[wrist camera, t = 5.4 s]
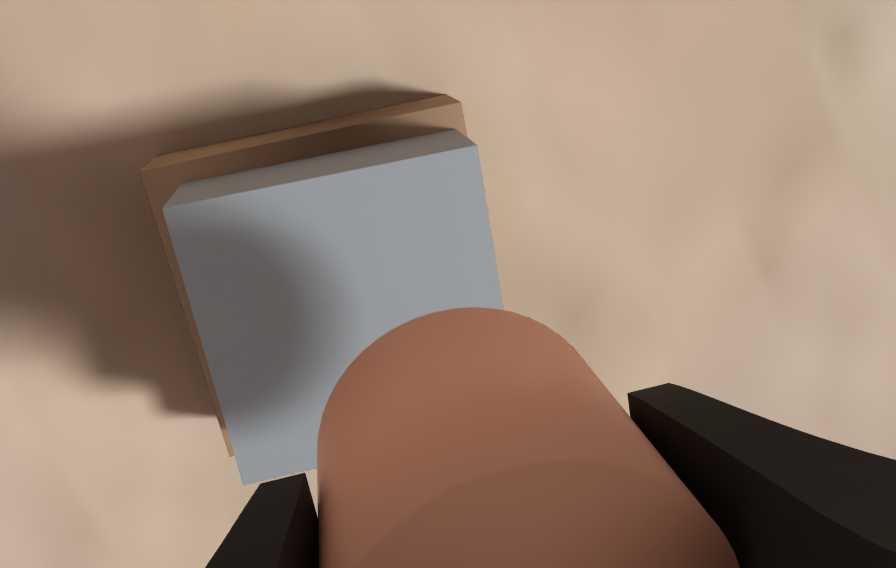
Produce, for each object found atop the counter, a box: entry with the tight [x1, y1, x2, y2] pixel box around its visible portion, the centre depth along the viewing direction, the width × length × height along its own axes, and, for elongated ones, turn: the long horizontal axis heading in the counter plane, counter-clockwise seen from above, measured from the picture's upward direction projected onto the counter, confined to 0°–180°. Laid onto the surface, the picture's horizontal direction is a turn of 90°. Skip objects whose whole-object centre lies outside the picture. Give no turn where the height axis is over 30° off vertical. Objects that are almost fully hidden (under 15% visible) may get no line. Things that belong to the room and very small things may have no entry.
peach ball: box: [317, 307, 740, 568], centre depth 11 cm, size 4×4×4 cm
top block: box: [162, 129, 504, 485], centre depth 18 cm, size 6×6×2 cm
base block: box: [139, 94, 467, 457], centre depth 20 cm, size 7×7×2 cm
